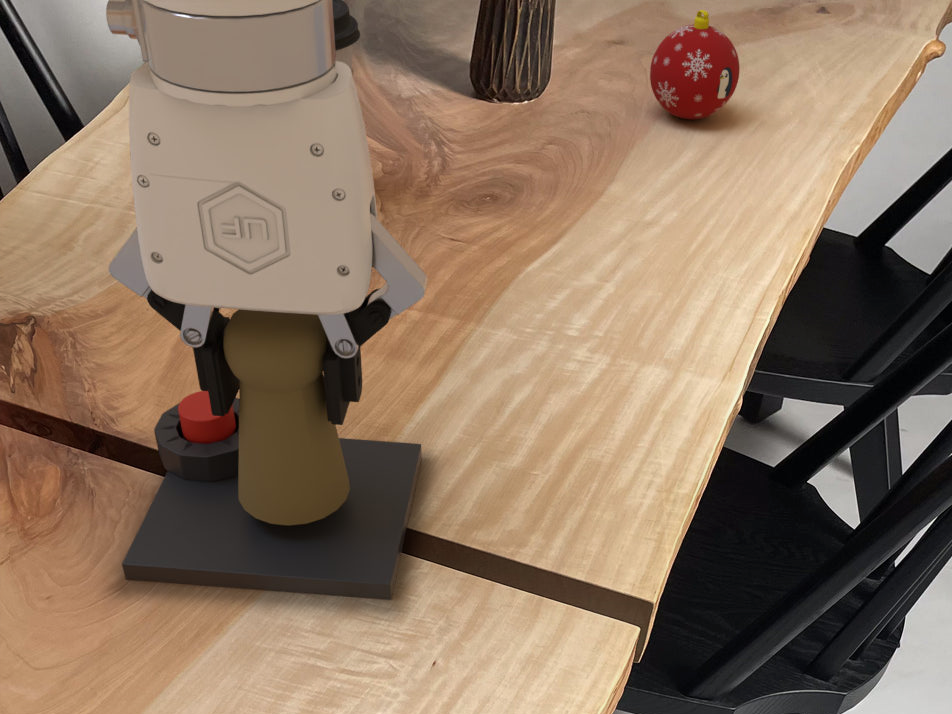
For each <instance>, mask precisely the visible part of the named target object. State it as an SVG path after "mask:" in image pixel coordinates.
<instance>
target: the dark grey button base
mask: <svg viewBox="0 0 952 714" xmlns="http://www.w3.org/2000/svg"><path fill="white" fill-rule="evenodd" d="M179 404H180V402H179V403H177V404H175V405H174V406H172V407H170V408H169V409H167V410H165V411H164V412H163V413H162V414H161V415H160V417H159V419H158V421H157V423H156V424H155V427H154V428H153V432H154V437H155V442H156V446H157V450H158V454H159V457H160V459H161V462H162V465H163V467H164V469H165V470H166V471H167V472H166V473H165V476H164V478H163V480H162V482H161V483H160V486H159V488H158V489H157V491H156V493H155V496H154V498H153V499H152V502H151V504H150V506H149V508H148V510H147V512H146V514H145V516H144V518H143V520H142V522H141V524H140V526H139V528H138V531H137V533H136V534H135V536H134V539H133V540H132V542H131V545H130V546H129V549H128V551H127V553H126V554H125V556H124V558H123V560H122V562H121V567H122V570H123V574H124V578H125V580H126V581H135V582H136V581H137V582H148V583H149V582H150V583H151V582H152V583H165V584H175V585H190V586H205V587H216V588H229V589H243V590H253V591H255V590H256V591H269V592H279V593H293V594H294V593H295V594H308V595H321V596H333V597H346V598H360V599H373V600H374V599H375V600H385V601H391V600H393V599H392V598H393V593H394V589H395V585H396V580H397V575H398V570H399V567H400V561H401V557H402V552H403V548H404V542H405V537H406V533H407V530H408V524H409V519H410V515H411V511H412V505H413V501H414V496H415V492H416V491H415V490H416V486H417V482H418V477H419V473H420V469H421V463H422V459H423V458H422V455H423V454H422V444H421V443H414V442H413V443H412V442H401V441H385V440H373V439H360V438H359V439H357V438H346V437H345V438H343V437H339V441H340V445H341V449H342V454H343V458H344V462H345V466H346V470H347V474H348V478H349V485H350V490H349V493H348V496H347V499H346V501H345V502H344V503H343V504H342V505H341V506H340V507H339V508H338V510H336V511H335V512H333V513H331V514H330V515H328V516H326V517H325V518H323V519H320V520H316V521H313V522H310V523H307V524H298V525H279V524H270V523H268V522H265V521H262V520H259V519H256V518H255V517H253V516H252V515H251V514H249V513H248V512H247V511H245V510H244V508H243V506H242V505H241V503H240V501H239V495H238V471H239V397H237V396H236V398H235V400H234V402H233V410H234V417H235V423H236V429H235V432H234V434H233V435H232V436H230V437H229V438H227V439H226V440H223V441H219V442H214V443H210V444H201V443H191V442H189V441H188V440H187V439H186V438H185V437H184V435H183V432H182V427H181V422H180V417H179V412H178V406H179Z"/></svg>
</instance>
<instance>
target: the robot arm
mask: <svg viewBox="0 0 952 714" xmlns="http://www.w3.org/2000/svg"><path fill="white" fill-rule="evenodd" d="M106 3H107V4H106V7H105V8H106V10H105V16H106V22H107V23H106V24H107V27H108V29H109V32H110V33H111V34H113V35H120V36H121V35H123V36H128V37H129V39H131V40H137V43H138V45H139V47H140V51H141V52H140V53H141V57H142V62H144V63H142V64H141V65H140V66H139V67H137V68H136V69H135V70H133V71H132V73H131V74H130V76H129V91H128V93H129V94H128V135H129V153H130V155H129V156H130V170H131V182H132V183H131V185H132V196H133V203H134V205H133V206H134V215H135V223H136V228H135V229H134V230H133V232H132V233H131V234H130V235H129V237H128V238H127V240H126V241H125V242H124V243H123V245H122V246H121V248H120V249H119V250H118V252H117V253H116V255H115V256H114V258H113V259H112V261H111V262H109V264H108V272H109V274H110V275H111V276H112V278H114V279H115V280H116V281H118V282H119V283H120V284H122V285H123V286H125V287H126V288H128V289H129V290H131V292H133V293H134V294H136V295H137V296H139V297H140V298H142V297H143V298H145V299H146V301H147V303H148V305H149V306H150V307H151V308H152V309H153V310H154V311H155V312H156V313H157V314H159V316H161V317H162V318H163V319H165V320H166V321H167V322H168V323H170V324H171V325H172V326H173V327H174V328H176V329H177V330H178V331H180V332H179V336H180V339H181V341H182V342H183V343H184V344H185V345H186V346H188V347H190V348H192V351H193V356H194V362H195V368H196V374H197V379H198V385H199V389H200V391H208V393H209V399H210V405H211V411H212V415H213V416H224V415H225V414H228V413H229V411H230V409H231V406H232V404H233V402H234V400H235V398H236V397H237V395H238V394H239V381H240V380H239V379H238V378H237V377H236V376H235V375H234V373H233V372H232V370H231V369H230V367H229V365H228V363H227V361H226V359H225V354H224V349H223V337H224V329H225V327H226V325H227V324H228V322H229V320H230V316H224V315H223V314H222V313H221V311H222V309H229V310H239V309H240V310H254V311H268V312H283V313H298V314H316V315H318V317H319V319H320V321H321V324H322V326H323V328H324V330H325V333H326V335H327V337H328V340H329V341H328V343H329V345H328V347H327V349H326V352H325V355H324V358H323V375H324V384H325V396H326V407H327V418H328V421H330V422H331V423H332V424H334V425H336V426H343V425H344V422H345V420H346V419H345V418H346V416H347V415H346V414H347V412H348V409H349V406H350V403H359V402H360V399H361V396H362V391H363V370H362V369H363V368H362V352H361V346H363V345H364V344H365V343H367V342H368V341H369V340H370V339H371V338H373V336H375V335H376V334H377V333H378V332H380V331H381V330H382V329H383V328H384V327H386V326H387V324H388V323H389V322H390V320H391V319H393V318H394V317H396V316H399V315H401V314H402V313H403V312H405V311H406V310H408V309H409V308H411V307H412V306H414V305H415V304H416V303H418V302H420V301H421V300H422V299H424V297H425V293H426V290H427V286H428V282H429V279H428V275H427V274H426V273H425V271H424V270H423V269H422V268H421V267H420V266H419V264H418V263H417V262H416V261H415V260H414V259H413V258H412V256H411V255H409V253H408V252H407V251H406V250H405V249H404V248H403V247H402V244H401V245H400V243H399V242H398V241H397V239H396V238H395V237H394V236H393V235H392V234H391V233H390V231H388V230H387V228H386V227H385V226H384V225H383V224H382V223H381V221H380V220H379V217H378V216H379V215H378V207H377V199H376V191H375V182H374V173H373V169H372V161H371V155H370V154H371V153H370V150H369V141H368V136H367V131H366V126H365V120H364V116H363V112H362V106H361V103H360V97H359V94H358V90H357V87H356V83H355V79H354V75H353V76H352V72H351V69H350V68H349V67H348V65H346V64H345V63H343V62H339V61H336V51H335V35H334V20H333V4H332V0H108V1H107V2H106ZM372 268H373V269H374V270H375V271H376V272H377V273H378V275H380V276H381V278H383V280H384V281H385V282H386V283H384V285H383V286H382V287H379V288H376V289H374V290H372V291H371V292H370V293H369V291H370V287H371V280H372V271H373V269H372Z"/></svg>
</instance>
